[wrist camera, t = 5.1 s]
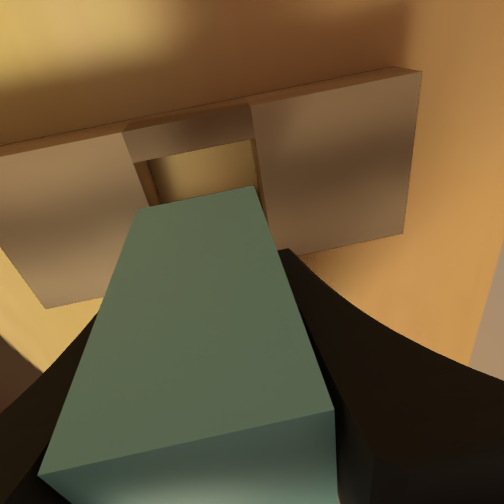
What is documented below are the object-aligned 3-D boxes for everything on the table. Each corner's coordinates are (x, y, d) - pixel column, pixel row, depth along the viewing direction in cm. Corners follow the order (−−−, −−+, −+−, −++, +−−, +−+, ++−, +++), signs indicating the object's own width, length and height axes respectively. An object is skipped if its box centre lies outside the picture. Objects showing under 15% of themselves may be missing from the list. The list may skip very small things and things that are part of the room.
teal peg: (269, 276, 13) (338, 517, 7) (172, 297, 13) (143, 561, 6) (253, 185, 11) (334, 409, 4) (136, 209, 11) (36, 475, 4)
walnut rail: (382, 213, 20) (402, 233, 18) (61, 280, 20) (45, 309, 18) (392, 66, 16) (422, 71, 14) (-22, 150, 15) (-57, 168, 13)
